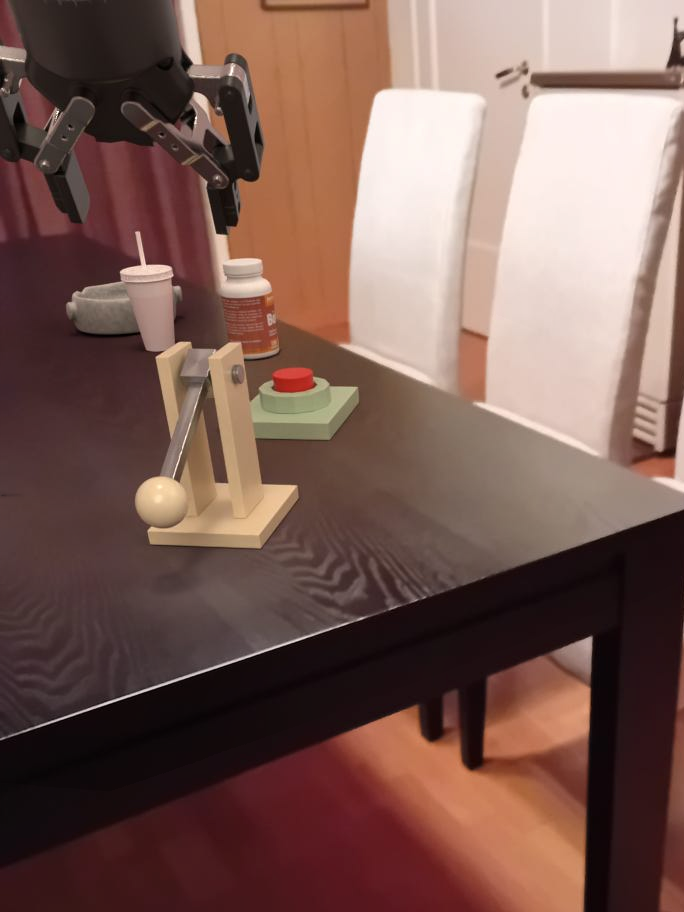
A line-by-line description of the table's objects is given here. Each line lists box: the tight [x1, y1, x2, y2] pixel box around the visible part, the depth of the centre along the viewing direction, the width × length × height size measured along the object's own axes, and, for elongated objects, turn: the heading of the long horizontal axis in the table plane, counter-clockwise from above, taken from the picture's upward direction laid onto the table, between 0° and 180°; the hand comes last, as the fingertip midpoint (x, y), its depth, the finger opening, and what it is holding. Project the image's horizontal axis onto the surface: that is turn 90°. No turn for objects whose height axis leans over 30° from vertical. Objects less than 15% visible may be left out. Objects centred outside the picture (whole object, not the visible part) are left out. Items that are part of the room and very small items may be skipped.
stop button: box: [272, 366, 314, 393], centre depth 102 cm, size 4×4×2 cm
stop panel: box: [250, 376, 360, 441], centre depth 103 cm, size 12×10×4 cm
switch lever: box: [134, 348, 218, 529], centre depth 73 cm, size 15×4×4 cm, turn 172°
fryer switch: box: [146, 341, 300, 549], centre depth 78 cm, size 10×9×14 cm
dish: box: [65, 280, 183, 336], centre depth 140 cm, size 14×14×5 cm
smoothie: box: [119, 230, 176, 352], centre depth 127 cm, size 6×6×14 cm
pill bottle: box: [219, 257, 280, 360], centre depth 123 cm, size 6×6×11 cm
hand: (153, 219), depth 61 cm, fingers open, 8 cm apart
